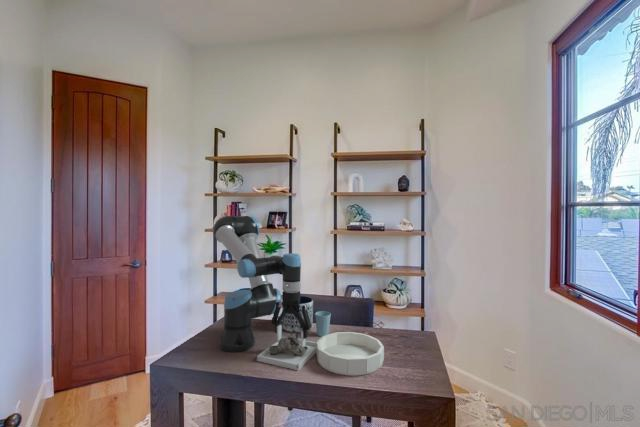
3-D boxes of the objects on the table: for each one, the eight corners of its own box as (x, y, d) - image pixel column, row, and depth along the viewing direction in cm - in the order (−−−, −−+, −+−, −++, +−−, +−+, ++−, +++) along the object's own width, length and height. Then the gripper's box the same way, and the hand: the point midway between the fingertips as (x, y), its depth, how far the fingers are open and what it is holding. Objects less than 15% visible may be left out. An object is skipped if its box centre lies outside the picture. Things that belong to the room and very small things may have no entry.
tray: (256, 360, 124) (256, 355, 124) (284, 340, 144) (284, 336, 144) (298, 370, 117) (298, 365, 117) (321, 347, 137) (321, 343, 137)
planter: (317, 324, 166) (317, 297, 166) (304, 335, 151) (304, 305, 151) (291, 320, 172) (291, 294, 172) (276, 329, 158) (276, 301, 158)
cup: (333, 336, 150) (333, 314, 150) (318, 339, 147) (318, 316, 147) (326, 331, 157) (326, 310, 157) (312, 333, 154) (312, 312, 154)
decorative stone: (266, 356, 125) (269, 329, 128) (272, 352, 134) (274, 327, 137) (305, 360, 123) (307, 333, 126) (308, 355, 132) (310, 331, 135)
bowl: (306, 366, 119) (306, 351, 119) (331, 341, 144) (331, 328, 144) (373, 382, 109) (373, 364, 109) (388, 352, 133) (388, 338, 133)
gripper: (263, 289, 132) (262, 342, 131) (312, 295, 122) (312, 351, 122) (272, 286, 139) (272, 335, 138) (320, 291, 129) (319, 344, 129)
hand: (290, 343), depth 130 cm, fingers closed on decorative stone, 11 cm apart
